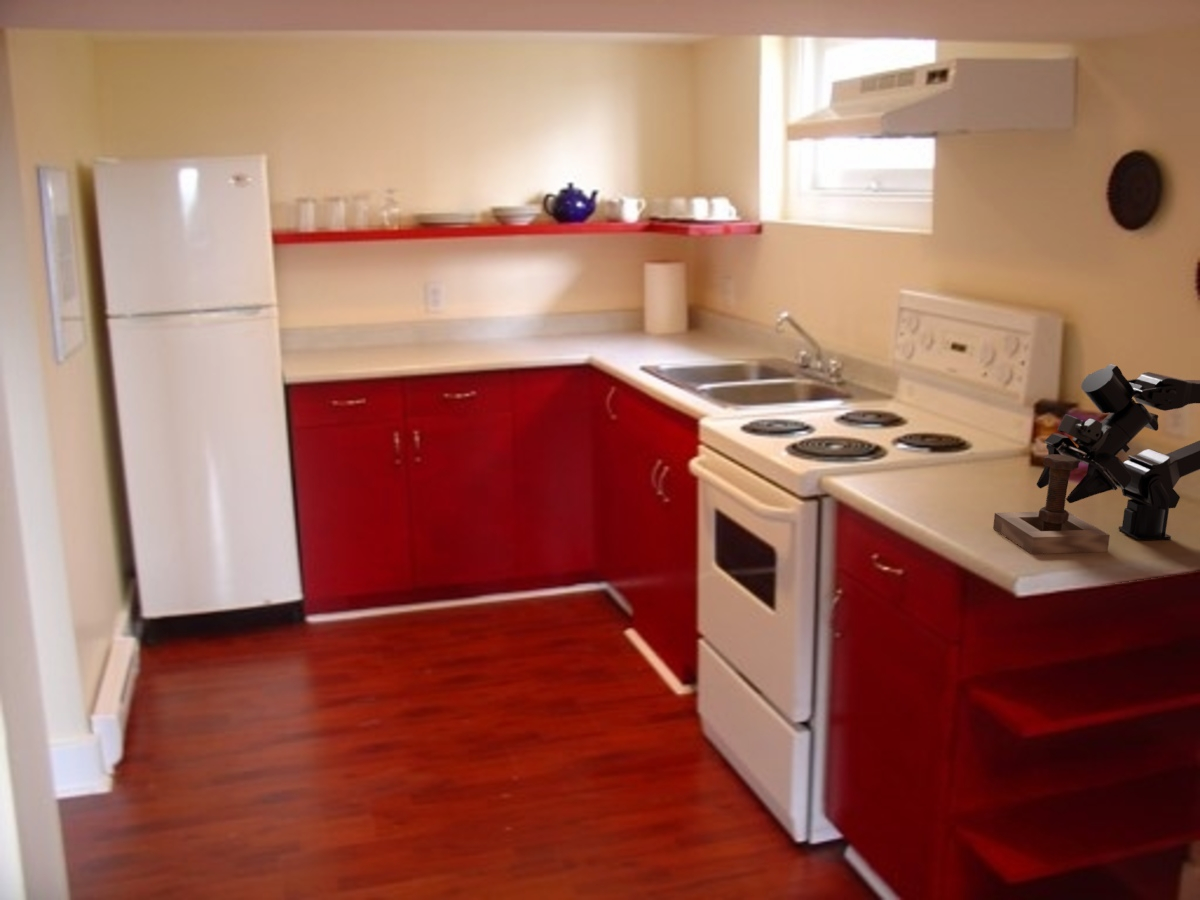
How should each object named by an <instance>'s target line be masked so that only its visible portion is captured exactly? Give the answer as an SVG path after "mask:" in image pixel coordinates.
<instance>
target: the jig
mask: <svg viewBox="0 0 1200 900" xmlns="http://www.w3.org/2000/svg"><path fill="white" fill-rule="evenodd" d="M1066 511H1067V512H1068V513H1069V517H1068V521H1067V522H1066V523H1063V524H1062V528H1061V531H1043V530H1042V529H1043V528H1042V527H1043V522H1044V521H1042V520H1041V519H1040V518H1039V517H1038V516H1039V511H1013V512H994V517H993V527H992V528H993V530H995V531H996V530H997V531H996V532H998V533H999V532H1000V533H999V534H1001V535H1002V534H1003V535H1002V536H1003V537H1005V536H1006V537H1005V538H1007V539H1008V540H1010V541H1011V540H1012V543H1014V542H1015V543H1014V544H1016V545H1017V544H1018V545H1017V546H1019V547H1020V546H1021V548H1022V549H1023V550H1024V551H1026V550H1027V552H1028V553H1029V554H1031V555H1045V554H1048V555H1049V554H1071V553H1076V554H1077V553H1098V552H1099V553H1100V552H1101V553H1102V552H1105V553H1106V552H1107V553H1108V550H1109V544H1110V537H1111V536H1110V534H1109V533H1107V532H1105V531H1104V530H1102V529H1100V528H1098V527H1096V526H1094V524H1091V523H1089V522H1088V521H1086V520H1083V519H1082V518H1080V517H1078V516H1077V515H1075V514H1073V513H1071V512H1069V511H1068V510H1066ZM1043 553H1044V554H1043Z"/></svg>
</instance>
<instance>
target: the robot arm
mask: <svg viewBox="0 0 1200 900" xmlns="http://www.w3.org/2000/svg"><path fill="white" fill-rule="evenodd" d="M1080 385H1081V386H1080V387H1081V390H1082V392H1083V393H1084V394H1085V395H1086V397H1088V398H1089V400H1090V401H1091V402H1092V404H1093V405H1094V406H1095V407H1096V408H1097V410H1098V411H1099V412H1100V413H1102V414H1108V415H1106V417H1104V419H1103V420H1102V421H1098V420H1096V419H1093V418H1088V419H1086V421H1084V420H1082V419H1079V418H1077V417H1075V416H1072V415H1069V414H1066V413H1065V414H1064V415H1063V417H1062V420H1061V421H1060V424H1059V425H1058V428H1057V429H1056V430H1057V431H1058V432H1060V433H1058V432H1057V433H1051V434H1050V435H1049V436H1048V437H1047V438H1046V439H1045V440H1044V443H1045V444H1046V445H1045V446H1046V447H1045V448H1046V449H1047V452H1048V454H1047V455H1052V454H1060V455H1066V456H1071V457H1074V458H1076V459H1077V460H1078V461H1079V464H1080V463H1083V464H1085V465H1087V469H1086V474H1085V475H1084V476H1083V478H1082V479H1081V480H1080V481H1079V482H1078V484H1077V485H1076V486H1075V487H1074V488H1073V489H1072V490H1071V492H1069V494H1067V496H1066V497H1065V498H1066V499H1065V501H1067V503H1068V504H1073V503H1076V502H1078V501H1081V500H1084V499H1087V498H1090V497H1093V496H1096V495H1099V494H1103V493H1106V492H1108V491H1112V490H1113V491H1117V490H1118V488H1120V490H1121V492H1122V496H1123V497H1126V498H1129V499H1127V503H1126V507H1124V512H1123V518H1122V525H1121V526H1118V530H1119V531H1121V532H1122V533H1124V534H1127V535H1128V536H1130V537H1132V538H1134V539H1136V540H1139V541H1147V540H1149V541H1151V540H1171V538H1172V535H1169V534H1168V533H1167V525H1168V520H1169V512H1170V509H1175V508H1176V507H1177V506H1178V503H1179V501H1180V499H1181V497H1180V494H1178V493H1177V491H1176V490H1175V489H1174V488H1175V486H1176V485H1177V483H1178V482H1179V480H1180V479H1181V478H1183V477H1185V476H1188V475H1190V474H1193V473H1195V472H1197V471H1200V440H1198V441H1197V440H1196V441H1195V442H1193V443H1190V444H1188V445H1184V446H1183V447H1181V448H1178V449H1175V450H1173V451H1171V452H1168V453H1166V454H1164V453H1161V452H1159V451H1155V450H1153V449H1150V448H1148V449H1144V450H1142V451H1140V452H1139V453H1137V454H1135V455H1128V456H1127V457H1128V459H1127V460H1125V461H1124V462H1123V461H1122V460H1121V458H1119V457H1118V454H1119V453H1120V452H1122V453H1125V454H1126V453H1127V452H1128V451H1129V450H1131V448H1130V447H1129V445H1128V444H1129V443H1130V442H1131V441H1132V440H1134V438H1135V437H1136V436H1137V435H1139V433H1140V432H1141V431H1142V430H1144V428H1147V429H1149V430H1152V431H1155V432H1156V431H1158V430H1159V420H1158V419H1159V415H1158V414H1156V413H1152V412H1149V410H1148V409H1147V408H1146V406H1147V407H1150V408H1153V409H1156V410H1159V411H1164V412H1167V411H1170V410H1176V409H1182V408H1185V406H1188V405H1193V404H1200V379H1181V378H1178V377H1177V378H1176V377H1173V376H1169V375H1164V374H1159V373H1154V372H1151V371H1148V372H1143V373H1140V374H1139V376H1138V378H1133V379H1127V378H1126V376H1124V374H1123V373H1122V370H1121V369H1120V368H1119V366H1118V365H1115V364H1111V363H1109V364H1108V365H1107V366H1106V367H1104V368H1101V369H1097V370H1095V371H1094V372H1092V373H1088V375H1086V377H1084V379H1083V380H1082V382H1081V384H1080ZM1062 433H1064V434H1067V435H1069V436H1071V437H1072V439H1071V438H1070V437H1068V436H1066V435H1063V434H1062ZM1049 471H1050V467H1049V466H1046V465H1044V468H1043V470H1042V472H1041V474H1040V476H1039V478H1038V480H1037V481H1036V486H1037V487H1038V488H1039V489H1043V488H1045V487H1048V484H1049V480H1050V479H1049V478H1050V477H1049V476H1050V475H1049ZM1072 471H1073V470H1071V471H1070V472H1072Z"/></svg>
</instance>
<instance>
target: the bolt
mask: <svg viewBox="0 0 1200 900" xmlns="http://www.w3.org/2000/svg"><path fill="white" fill-rule="evenodd" d="M1042 464H1043V465H1044V466H1045V465H1046V466H1049V467H1050V471H1049V475H1050V476H1049V477H1050V478H1049V479H1050V480H1049V484H1048V485H1047V494H1046V499H1045V505H1044V507H1041V508H1040V509H1039V510H1038V512H1039V516H1038V517H1039V518H1040V519H1041V520H1042V521H1044V522H1043V527H1042V528H1043V529H1042V530H1043V531H1061V528H1062V524H1063V523H1066V522H1067V521H1068V517H1069V513H1068V512H1069V511H1068V510H1066V509H1065V507H1066V498H1067V494H1068V493H1067V491H1068V486H1069V479H1070V477H1071V472H1072V471H1074V470H1077V469H1079V466H1080V463H1079V461H1078V460H1077V459H1076V458H1074V457H1071V456H1066V455H1060V454H1052V455H1048V454H1046V455H1045V456H1044V458H1043V463H1042ZM1071 470H1072V471H1071ZM1067 511H1068V512H1067Z"/></svg>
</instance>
